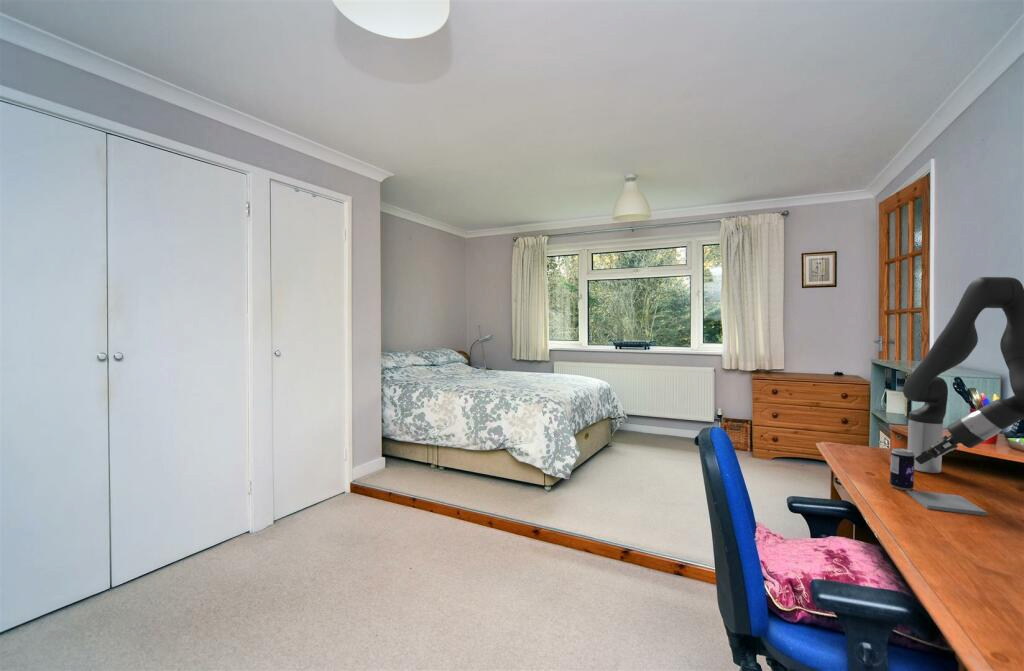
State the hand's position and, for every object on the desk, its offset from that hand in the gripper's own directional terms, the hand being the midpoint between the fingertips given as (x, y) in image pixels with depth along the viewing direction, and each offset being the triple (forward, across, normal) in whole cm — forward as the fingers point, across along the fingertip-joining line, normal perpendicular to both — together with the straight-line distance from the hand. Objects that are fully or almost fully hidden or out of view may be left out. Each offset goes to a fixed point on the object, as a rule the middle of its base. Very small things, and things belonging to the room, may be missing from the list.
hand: (920, 458), depth 144 cm
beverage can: (+10, 0, +4) cm, 11 cm away
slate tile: (+3, +7, +12) cm, 14 cm away
